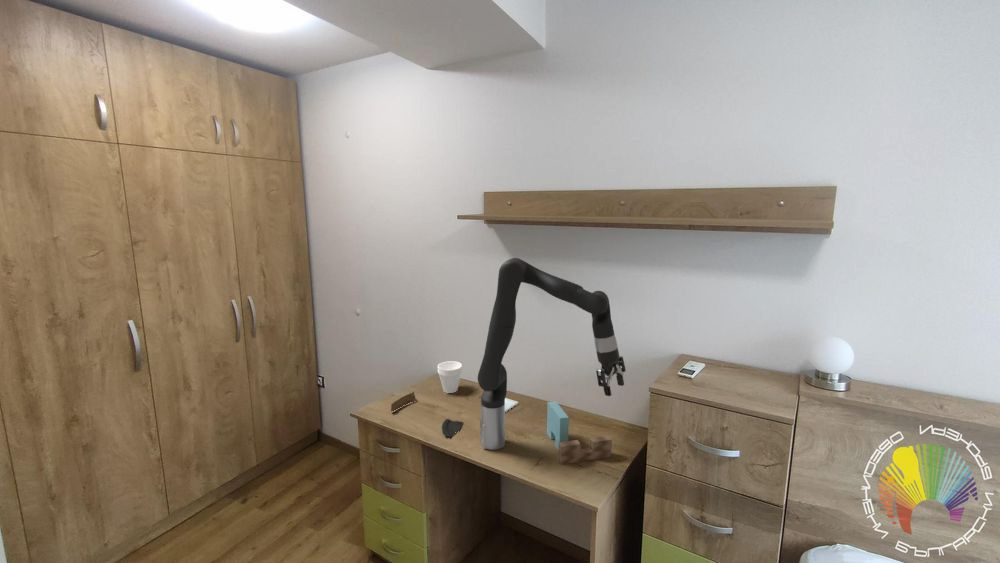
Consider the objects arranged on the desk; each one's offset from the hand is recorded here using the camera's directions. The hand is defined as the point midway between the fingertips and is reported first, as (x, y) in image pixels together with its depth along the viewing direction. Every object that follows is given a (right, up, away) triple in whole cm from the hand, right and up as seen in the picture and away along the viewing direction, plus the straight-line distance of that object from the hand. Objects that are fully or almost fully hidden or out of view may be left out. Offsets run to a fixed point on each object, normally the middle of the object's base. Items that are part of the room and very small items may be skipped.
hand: (614, 390), depth 158 cm
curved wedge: (-62, -24, +30) cm, 73 cm away
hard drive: (-39, -20, +49) cm, 66 cm away
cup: (-66, -17, +66) cm, 95 cm away
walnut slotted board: (-9, -27, +8) cm, 30 cm away
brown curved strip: (-86, -20, +49) cm, 101 cm away
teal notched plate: (-18, -25, +19) cm, 36 cm away
